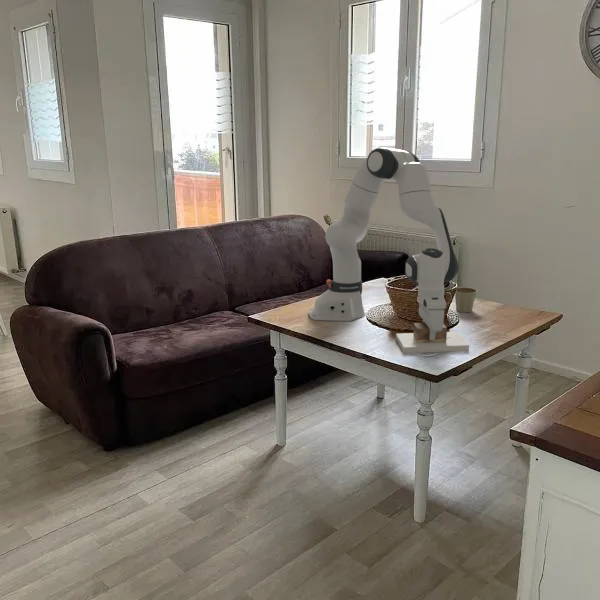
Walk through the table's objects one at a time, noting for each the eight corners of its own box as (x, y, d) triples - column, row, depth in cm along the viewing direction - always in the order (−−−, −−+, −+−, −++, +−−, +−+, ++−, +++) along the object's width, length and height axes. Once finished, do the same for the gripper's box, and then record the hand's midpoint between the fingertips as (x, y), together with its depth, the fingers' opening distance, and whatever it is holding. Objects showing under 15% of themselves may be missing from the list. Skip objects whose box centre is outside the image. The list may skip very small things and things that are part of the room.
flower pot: (474, 307, 254) (475, 287, 251) (478, 314, 245) (479, 293, 242) (451, 307, 255) (452, 286, 252) (454, 313, 246) (455, 293, 243)
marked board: (403, 353, 205) (404, 347, 205) (395, 338, 219) (396, 333, 218) (468, 350, 206) (469, 345, 206) (456, 336, 220) (457, 331, 219)
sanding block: (417, 342, 209) (417, 328, 207) (413, 336, 214) (413, 323, 213) (446, 341, 209) (446, 327, 208) (441, 335, 215) (442, 322, 213)
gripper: (414, 289, 217) (413, 326, 221) (428, 305, 198) (426, 346, 202) (432, 288, 218) (431, 325, 221) (447, 305, 198) (446, 345, 202)
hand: (429, 335), depth 211 cm, fingers closed on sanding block, 6 cm apart
